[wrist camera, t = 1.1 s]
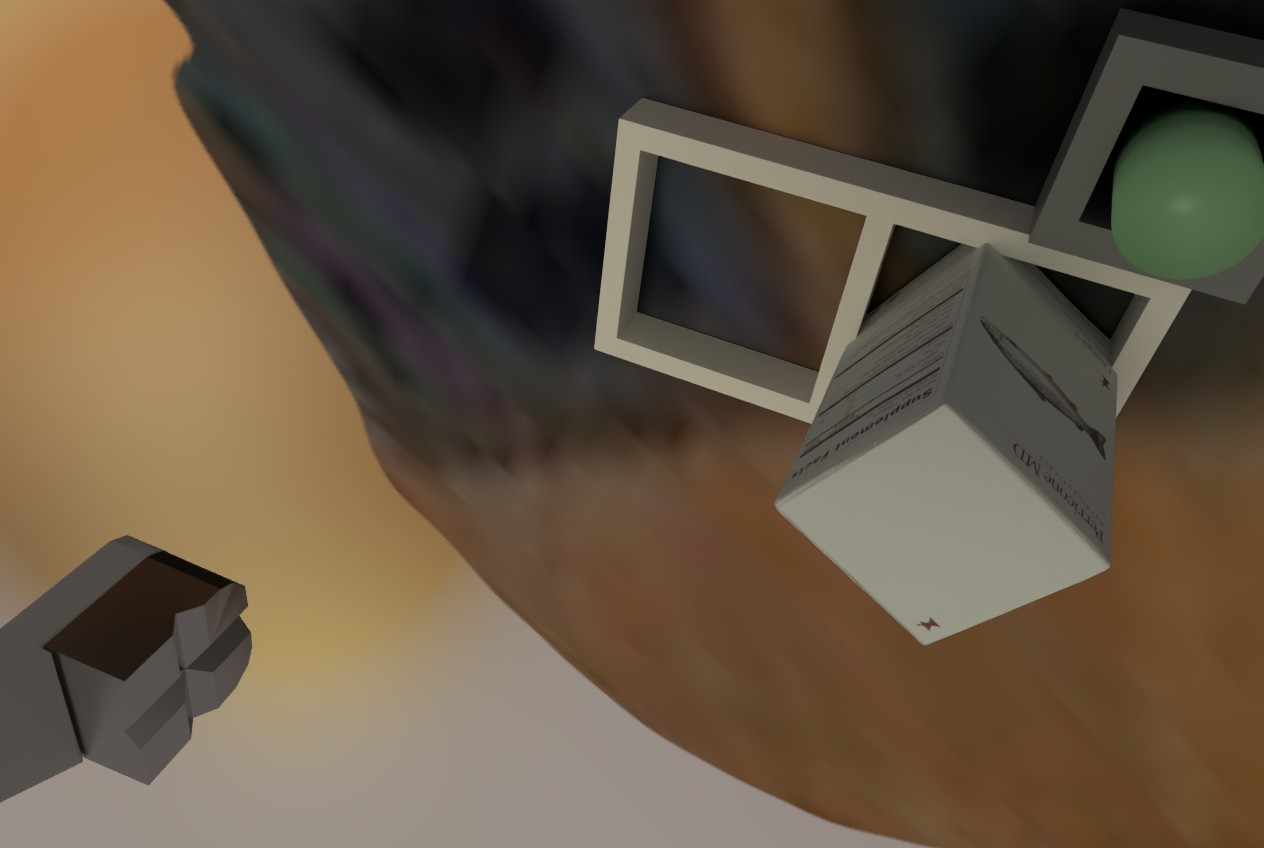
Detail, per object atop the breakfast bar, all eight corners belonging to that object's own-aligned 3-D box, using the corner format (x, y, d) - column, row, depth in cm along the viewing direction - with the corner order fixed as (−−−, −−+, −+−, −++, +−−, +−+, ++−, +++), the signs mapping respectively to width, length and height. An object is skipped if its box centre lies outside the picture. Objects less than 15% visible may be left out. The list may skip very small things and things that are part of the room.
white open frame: (614, 322, 46) (594, 348, 44) (642, 97, 38) (619, 118, 37) (1065, 473, 41) (1062, 509, 39) (1192, 250, 34) (1195, 282, 32)
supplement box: (1126, 346, 36) (1122, 576, 27) (967, 436, 41) (920, 655, 32) (996, 209, 35) (947, 401, 26) (849, 318, 40) (766, 511, 31)
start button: (1147, 86, 30) (1149, 132, 27) (1286, 120, 29) (1303, 172, 26) (1092, 203, 32) (1088, 257, 29) (1218, 237, 31) (1226, 296, 28)
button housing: (1120, 7, 30) (1119, 34, 28) (1360, 62, 29) (1378, 95, 27) (1034, 206, 35) (1027, 242, 33) (1237, 262, 33) (1245, 304, 31)
